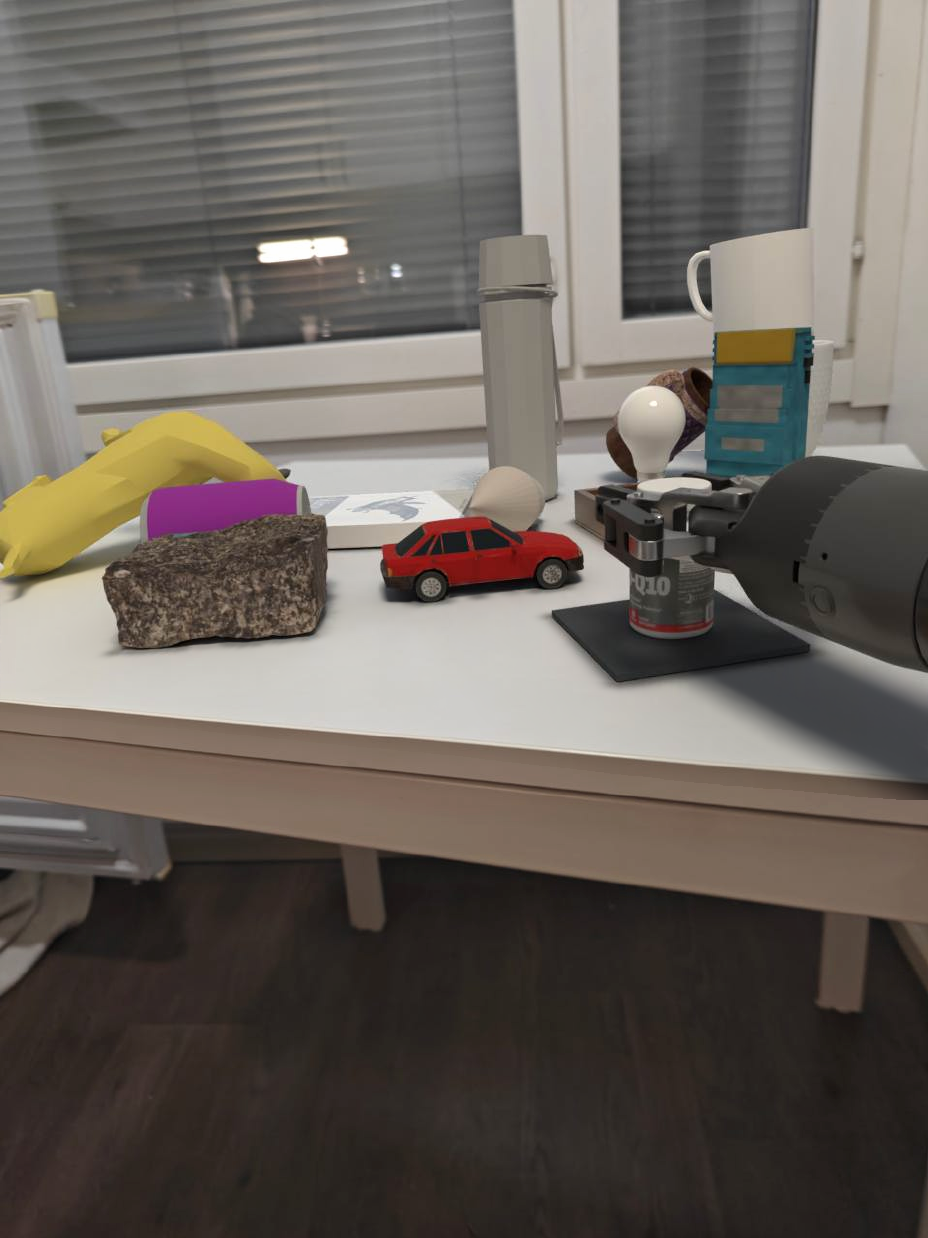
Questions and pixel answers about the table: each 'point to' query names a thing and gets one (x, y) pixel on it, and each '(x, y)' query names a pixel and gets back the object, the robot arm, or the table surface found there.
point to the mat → (674, 640)
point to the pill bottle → (673, 584)
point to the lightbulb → (651, 428)
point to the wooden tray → (591, 509)
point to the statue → (118, 487)
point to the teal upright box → (758, 401)
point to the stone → (222, 582)
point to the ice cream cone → (508, 498)
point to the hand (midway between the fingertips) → (645, 496)
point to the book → (386, 515)
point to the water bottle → (520, 357)
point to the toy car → (475, 556)
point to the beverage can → (218, 505)
